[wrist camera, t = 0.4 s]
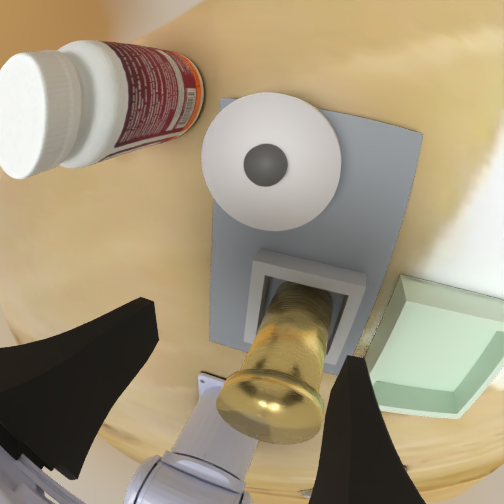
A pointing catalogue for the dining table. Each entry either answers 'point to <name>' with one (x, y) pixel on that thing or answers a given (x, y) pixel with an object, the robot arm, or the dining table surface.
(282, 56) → the dining table surface
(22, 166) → the pill bottle
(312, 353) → the lock pin
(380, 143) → the board
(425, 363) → the tray
